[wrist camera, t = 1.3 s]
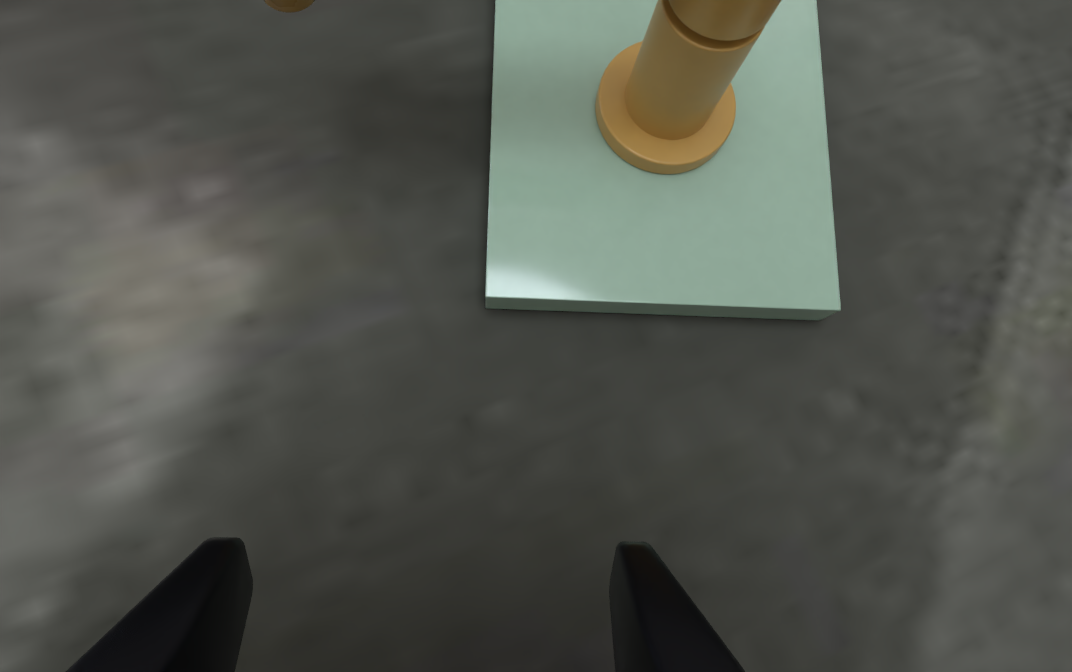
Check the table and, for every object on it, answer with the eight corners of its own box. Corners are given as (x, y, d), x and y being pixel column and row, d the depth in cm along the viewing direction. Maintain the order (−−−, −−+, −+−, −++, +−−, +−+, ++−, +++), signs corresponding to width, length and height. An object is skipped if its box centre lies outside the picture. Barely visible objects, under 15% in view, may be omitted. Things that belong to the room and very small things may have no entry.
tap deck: (820, 320, 25) (841, 310, 23) (484, 308, 24) (485, 297, 22) (795, -19, 28) (813, -47, 26) (496, -40, 27) (497, -71, 25)
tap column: (755, 132, 25) (835, 28, 19) (647, 199, 24) (698, 112, 18) (676, 29, 25) (731, -100, 20) (568, 91, 24) (594, -26, 19)
